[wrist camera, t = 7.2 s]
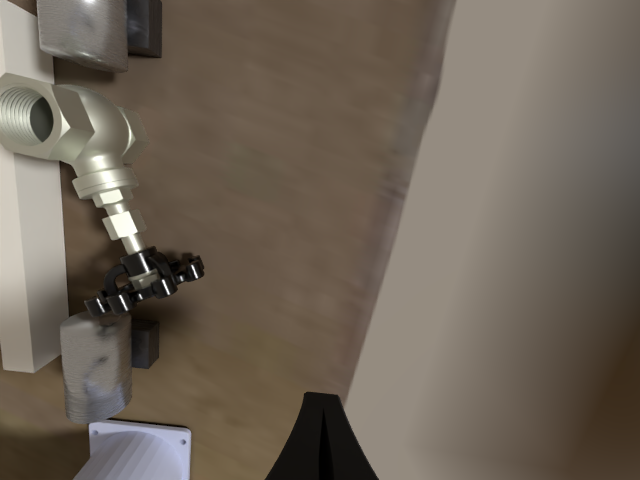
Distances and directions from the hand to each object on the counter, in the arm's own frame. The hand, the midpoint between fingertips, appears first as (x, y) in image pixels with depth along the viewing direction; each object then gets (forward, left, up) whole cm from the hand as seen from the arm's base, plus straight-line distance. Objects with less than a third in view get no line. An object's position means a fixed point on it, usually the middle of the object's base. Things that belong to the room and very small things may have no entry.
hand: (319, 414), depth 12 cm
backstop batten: (+5, +19, -10) cm, 23 cm away
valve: (+7, +13, -11) cm, 18 cm away
